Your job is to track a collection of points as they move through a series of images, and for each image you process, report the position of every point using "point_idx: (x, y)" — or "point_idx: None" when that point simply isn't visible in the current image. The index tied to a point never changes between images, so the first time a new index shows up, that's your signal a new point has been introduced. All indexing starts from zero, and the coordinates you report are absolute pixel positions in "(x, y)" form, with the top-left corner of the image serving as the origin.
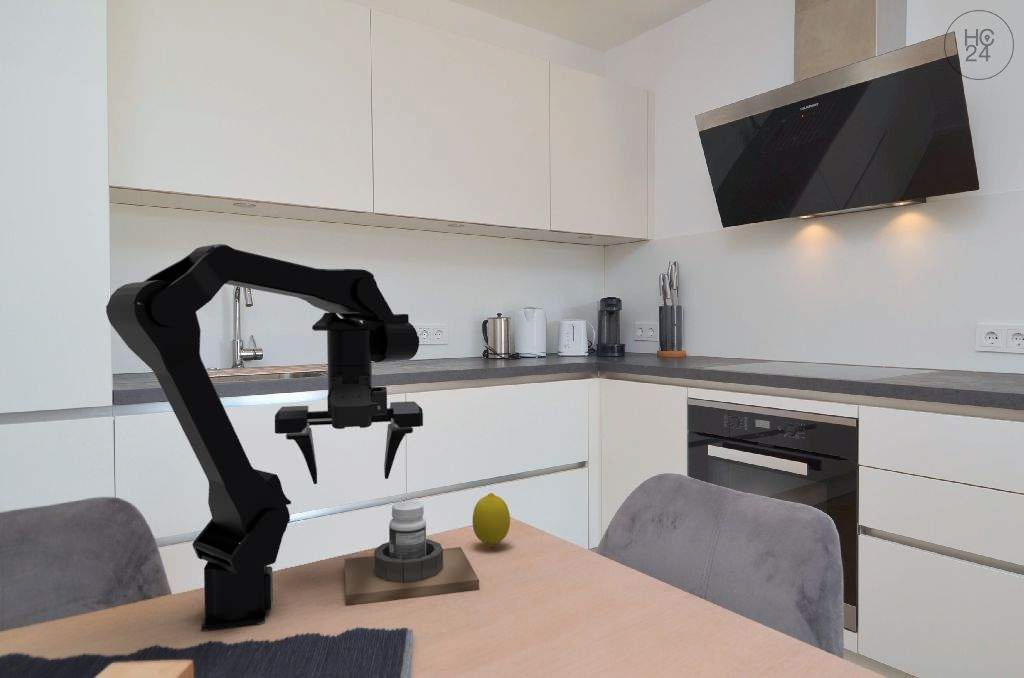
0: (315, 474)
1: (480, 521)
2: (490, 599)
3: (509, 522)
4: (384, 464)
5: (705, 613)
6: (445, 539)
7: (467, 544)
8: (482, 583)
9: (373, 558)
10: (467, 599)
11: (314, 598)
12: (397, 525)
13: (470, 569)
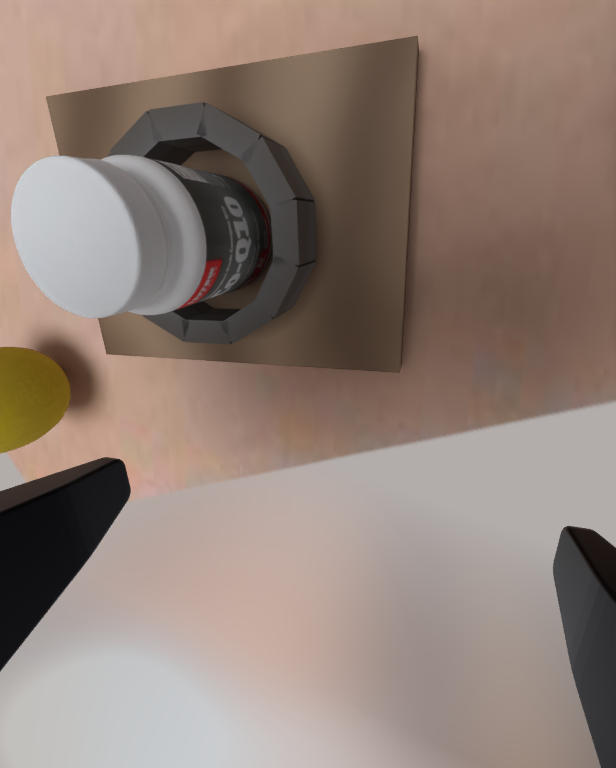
0: (611, 575)
1: (11, 374)
2: (38, 23)
3: None
4: (75, 556)
5: None
6: (158, 456)
7: (112, 409)
8: None
9: (317, 347)
10: (90, 34)
11: (516, 140)
12: (158, 176)
13: None
